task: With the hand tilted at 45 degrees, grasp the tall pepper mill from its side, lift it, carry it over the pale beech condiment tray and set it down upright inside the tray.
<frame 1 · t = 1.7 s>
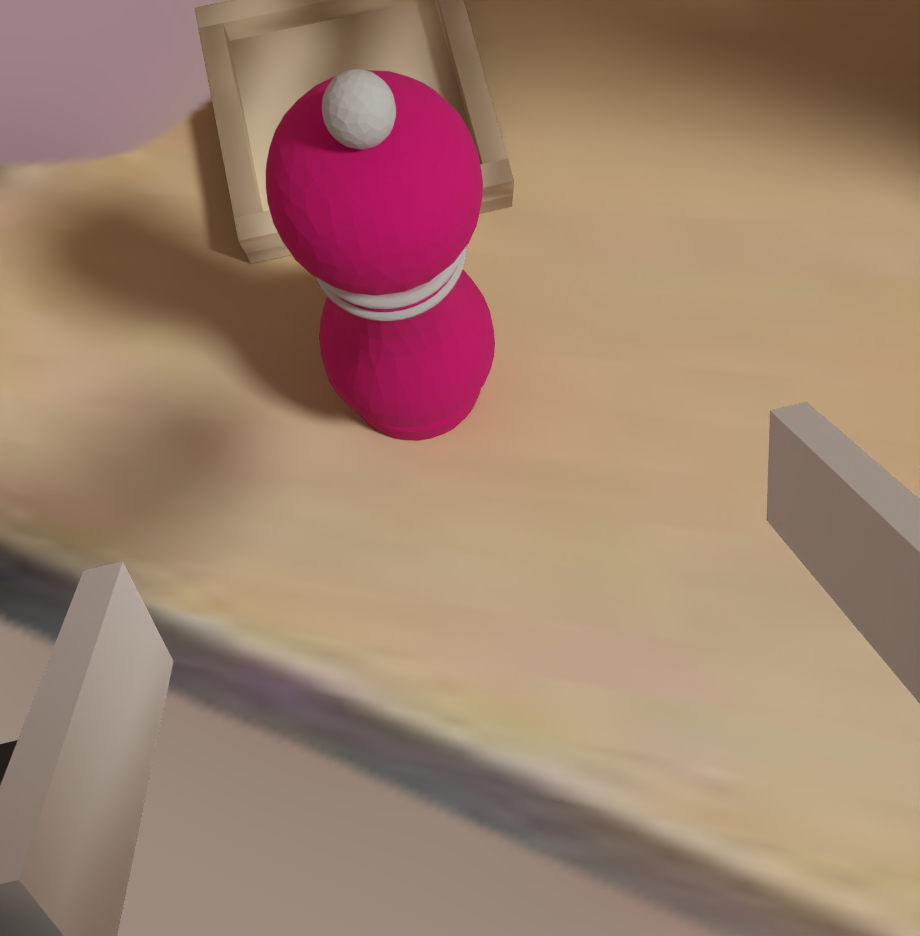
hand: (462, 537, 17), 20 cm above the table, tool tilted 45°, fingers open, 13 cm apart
tray: (355, 121, 41), on the table
pepper mill: (415, 378, 39), on the table
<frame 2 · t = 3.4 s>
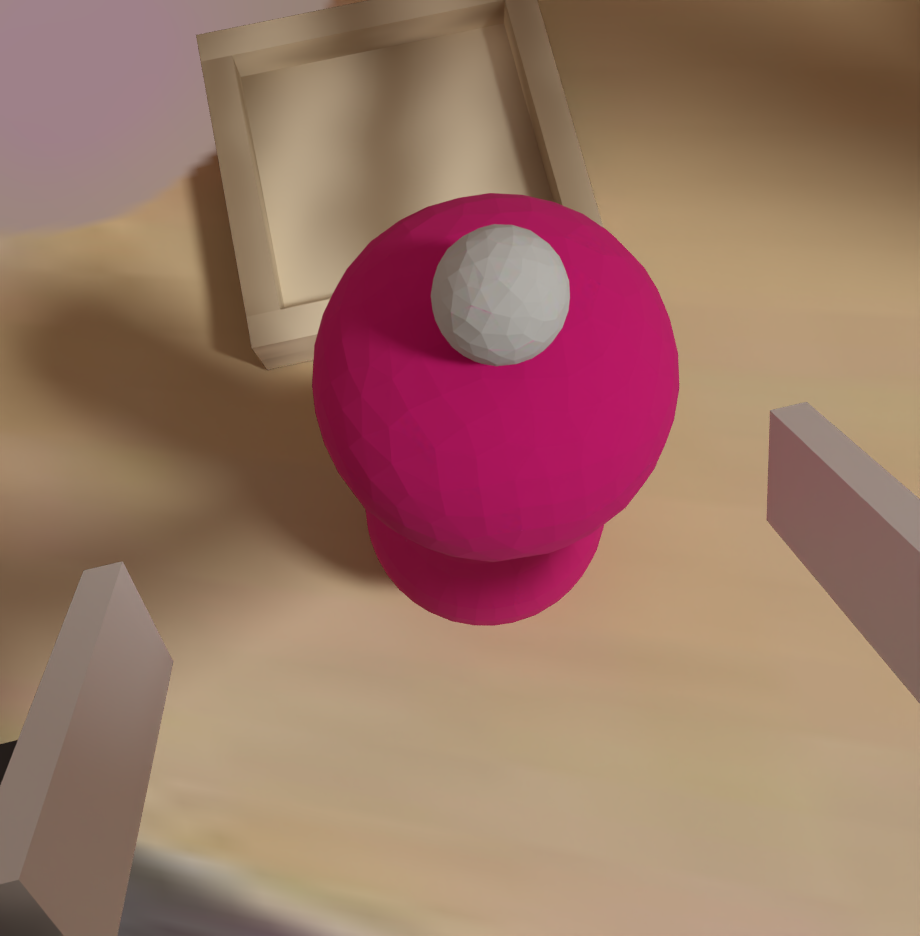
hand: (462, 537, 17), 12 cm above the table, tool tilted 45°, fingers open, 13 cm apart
tray: (402, 181, 32), on the table
pepper mill: (482, 527, 29), on the table
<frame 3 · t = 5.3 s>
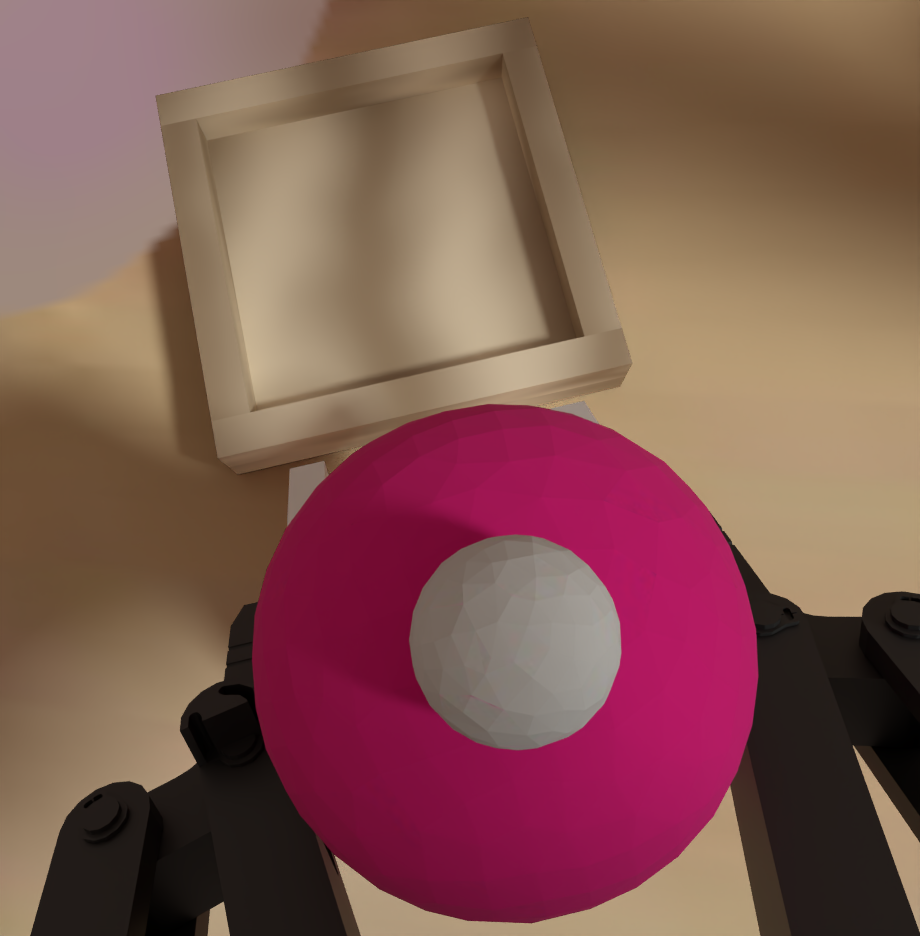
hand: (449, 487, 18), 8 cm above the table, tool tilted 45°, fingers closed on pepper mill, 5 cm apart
tray: (389, 256, 29), on the table
pepper mill: (483, 656, 26), on the table, touching gripper
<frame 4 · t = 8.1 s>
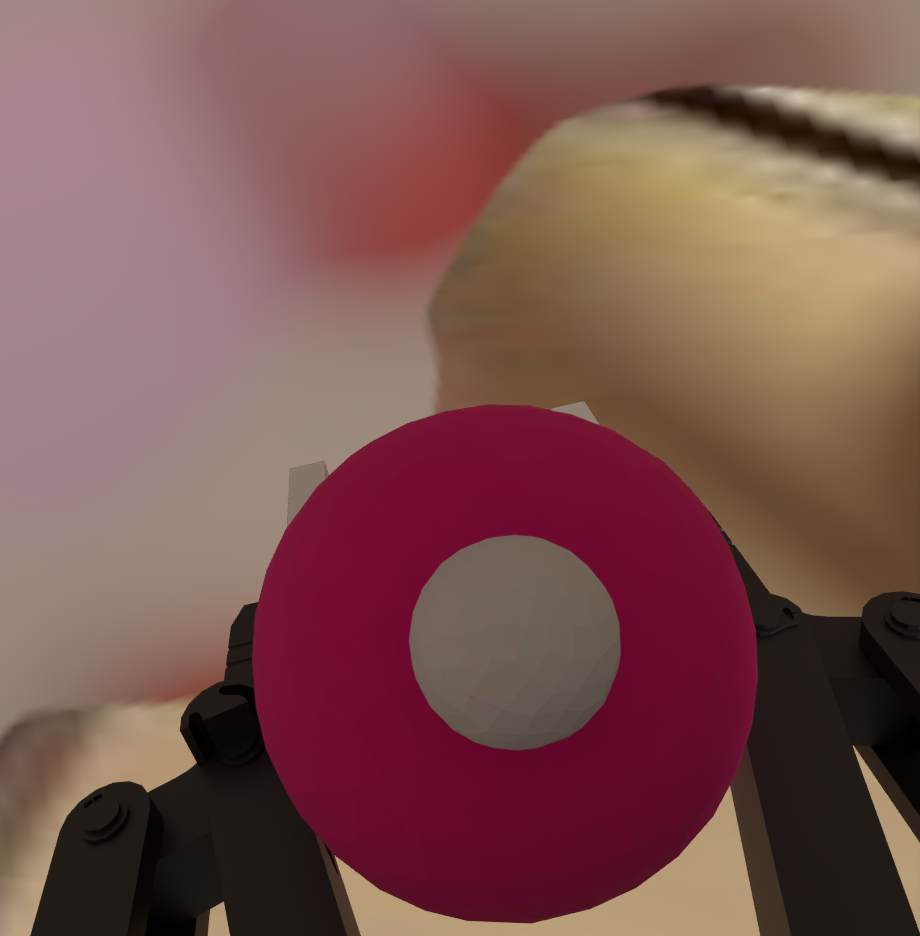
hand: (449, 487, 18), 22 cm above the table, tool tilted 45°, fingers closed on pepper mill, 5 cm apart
pepper mill: (483, 656, 26), point 13 cm above the table, touching gripper
when the fingers open (9 cm above the table, at t = 11.2 s): pepper mill stays where it is, resting on tray.
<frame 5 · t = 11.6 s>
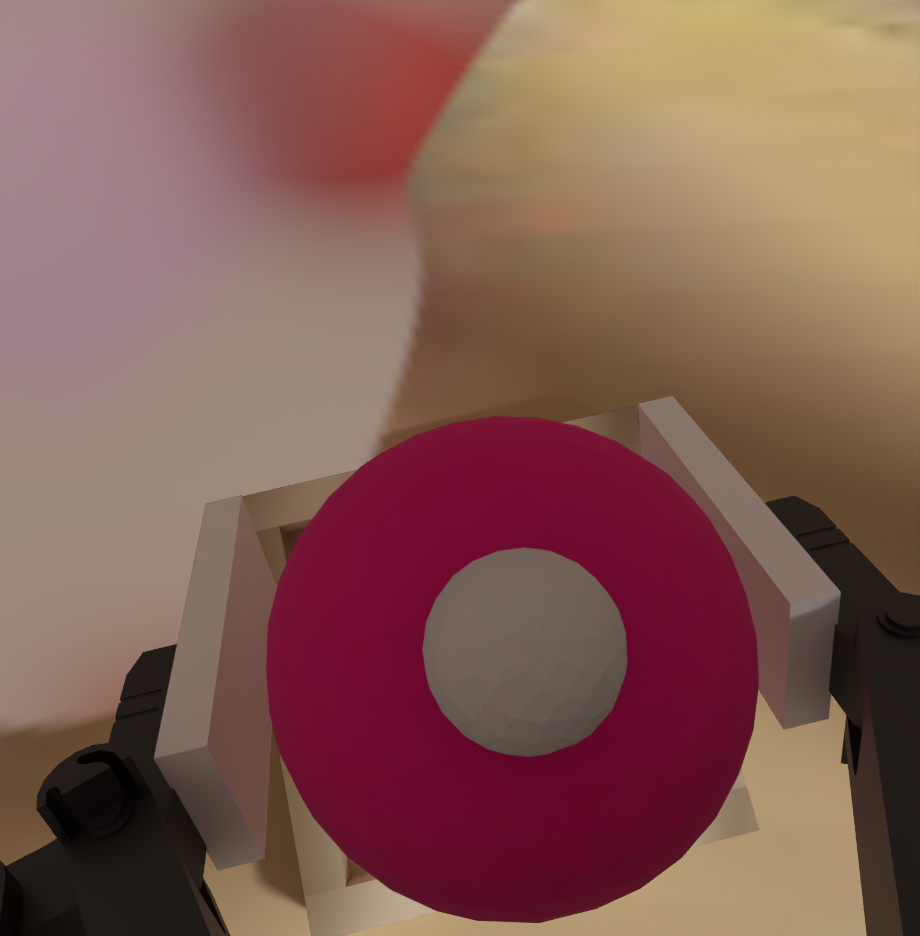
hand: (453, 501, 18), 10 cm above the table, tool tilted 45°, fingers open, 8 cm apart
tray: (483, 656, 27), on the table
pepper mill: (486, 658, 26), point 1 cm above the table, touching tray
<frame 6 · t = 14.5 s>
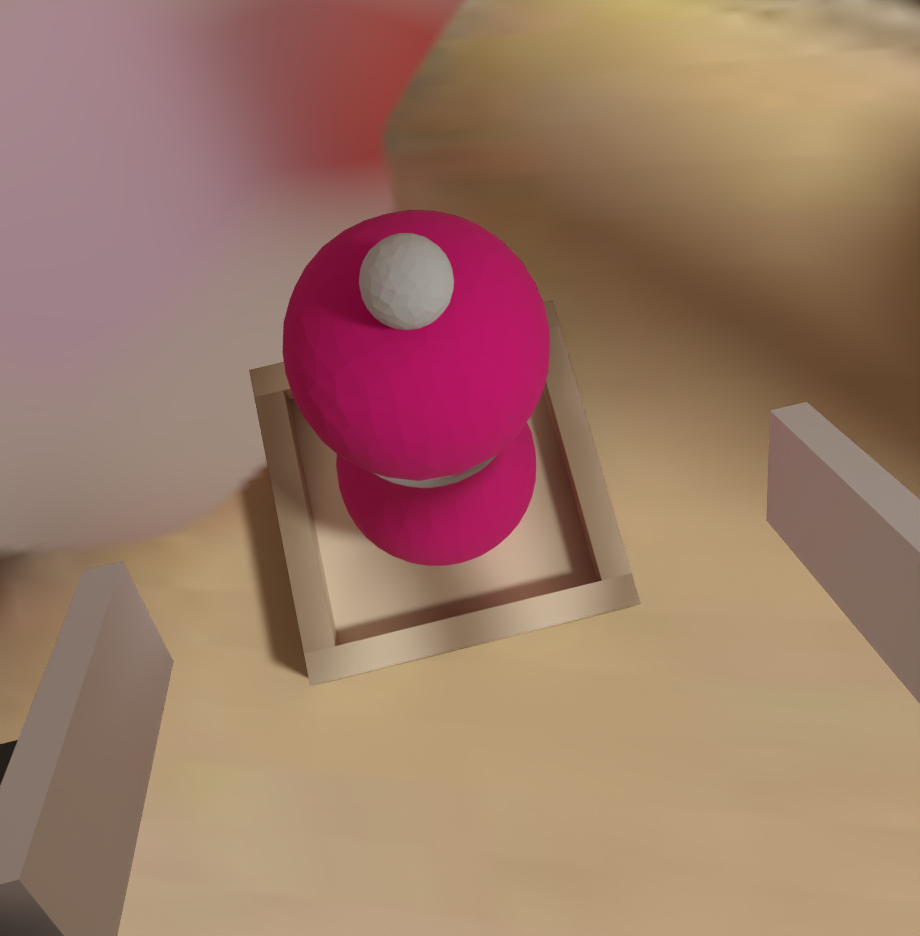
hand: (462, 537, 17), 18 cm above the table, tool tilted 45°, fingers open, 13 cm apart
tray: (439, 493, 35), on the table
pepper mill: (441, 491, 34), point 1 cm above the table, touching tray
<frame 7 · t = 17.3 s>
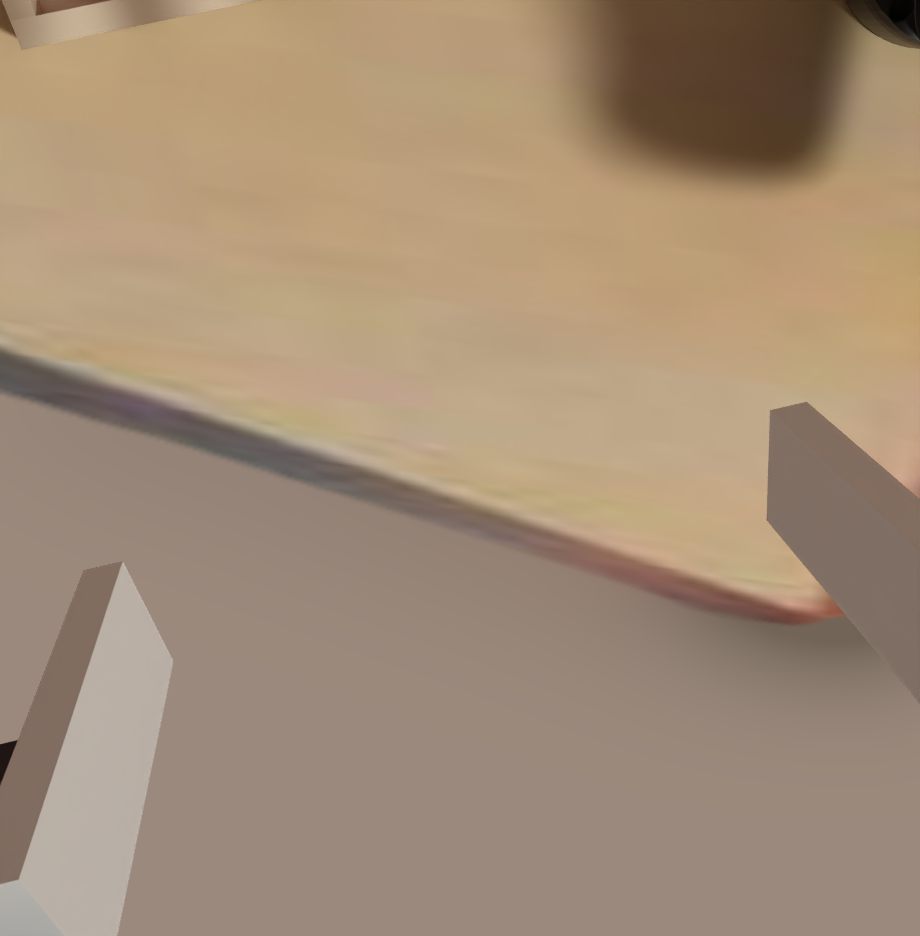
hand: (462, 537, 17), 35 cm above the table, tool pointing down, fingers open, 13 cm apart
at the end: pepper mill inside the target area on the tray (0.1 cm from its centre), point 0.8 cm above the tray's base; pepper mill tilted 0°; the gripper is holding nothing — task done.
